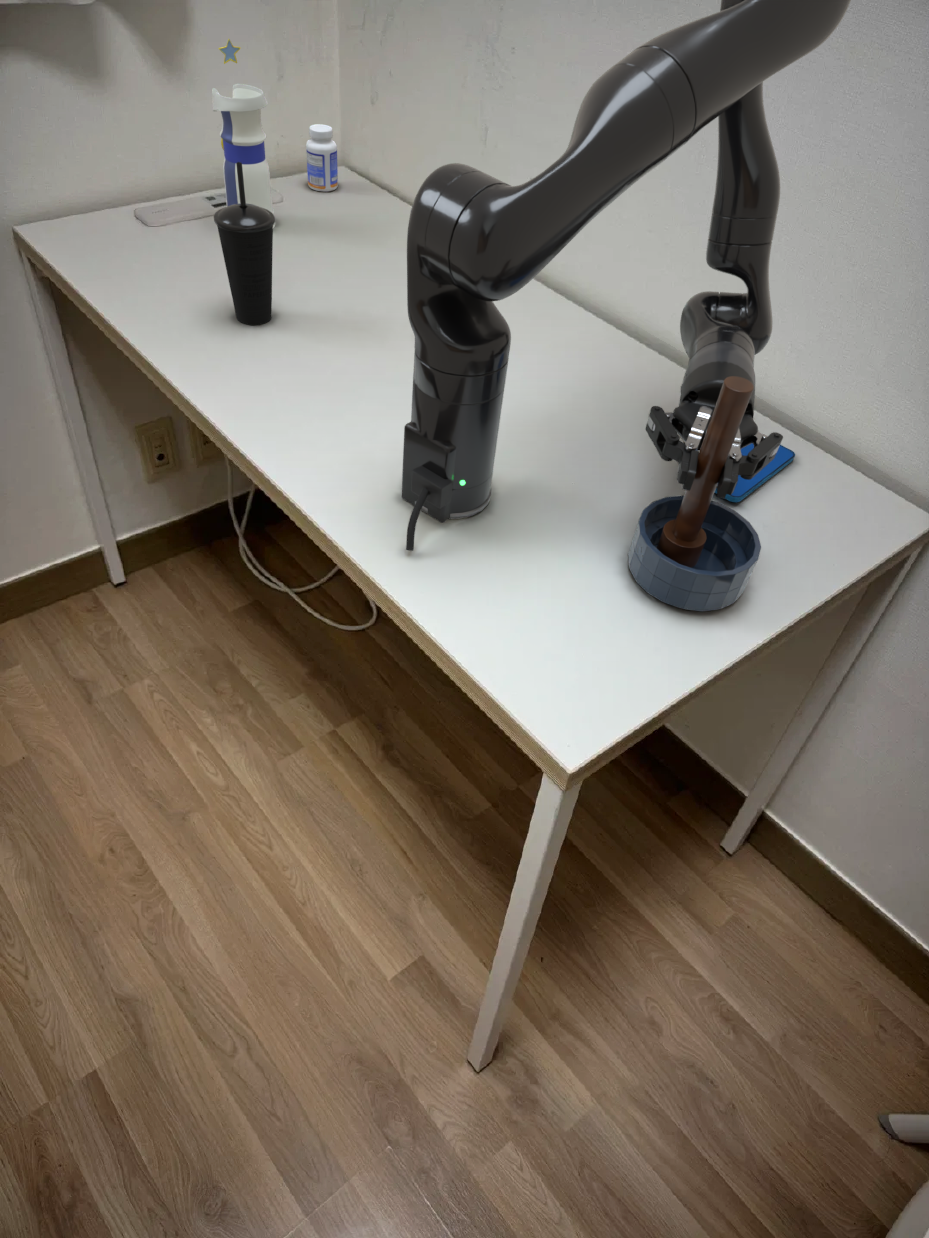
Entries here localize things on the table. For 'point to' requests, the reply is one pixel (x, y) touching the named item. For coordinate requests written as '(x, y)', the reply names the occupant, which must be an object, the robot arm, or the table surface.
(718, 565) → the bowl
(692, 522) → the muddler
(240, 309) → the drinking cup
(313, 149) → the pill bottle
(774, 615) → the table surface
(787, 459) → the smartphone
